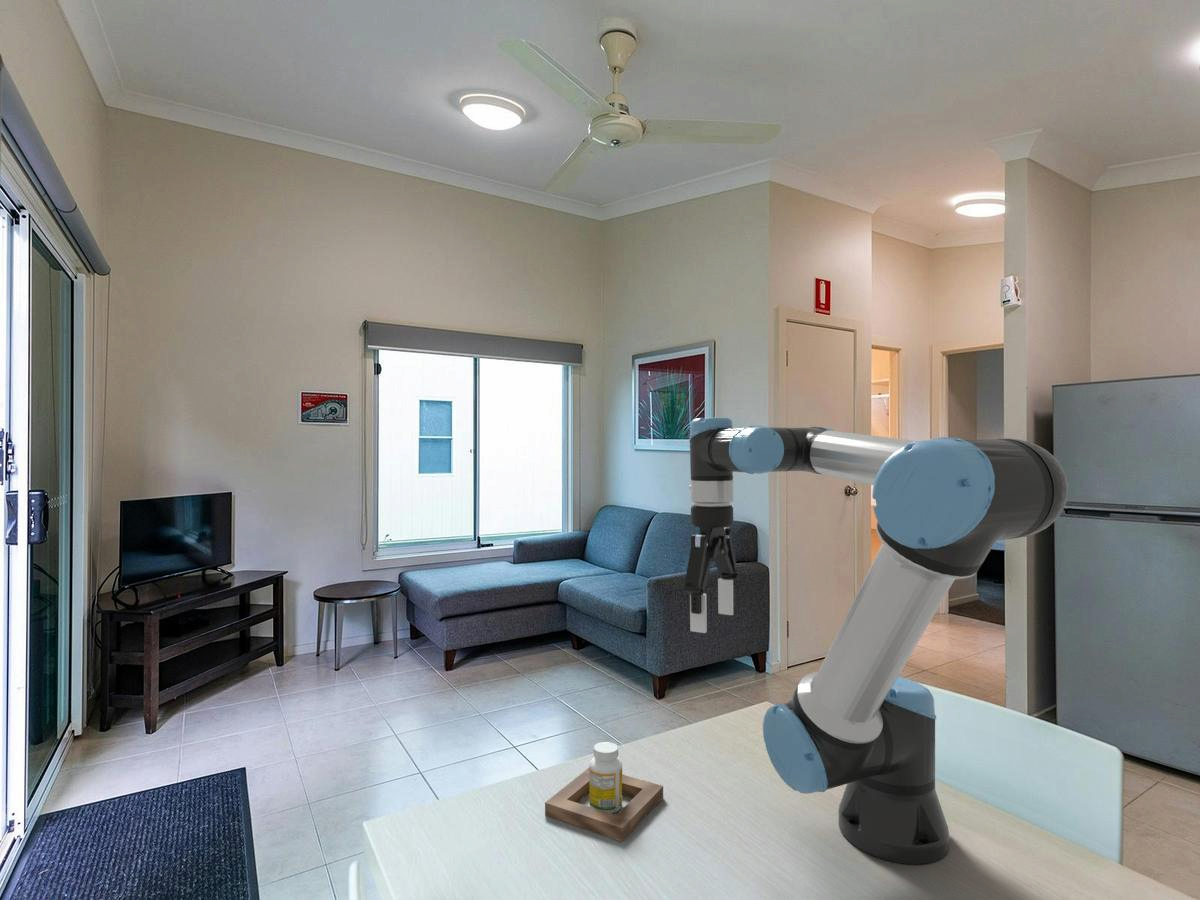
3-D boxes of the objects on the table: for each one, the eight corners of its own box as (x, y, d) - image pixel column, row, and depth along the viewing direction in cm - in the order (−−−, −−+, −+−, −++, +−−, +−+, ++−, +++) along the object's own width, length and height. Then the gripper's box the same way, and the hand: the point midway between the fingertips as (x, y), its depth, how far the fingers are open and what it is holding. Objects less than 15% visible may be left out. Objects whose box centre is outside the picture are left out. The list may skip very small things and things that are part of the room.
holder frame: (663, 797, 110) (663, 785, 110) (622, 841, 98) (622, 828, 98) (591, 776, 117) (591, 765, 117) (545, 815, 105) (545, 802, 105)
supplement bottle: (605, 819, 103) (605, 758, 103) (582, 806, 107) (582, 746, 107) (629, 806, 107) (629, 747, 107) (606, 794, 111) (606, 737, 111)
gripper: (716, 498, 131) (717, 605, 131) (663, 509, 110) (664, 636, 110) (753, 499, 127) (754, 609, 127) (705, 510, 106) (707, 643, 106)
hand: (712, 622), depth 118 cm, fingers open, 13 cm apart
